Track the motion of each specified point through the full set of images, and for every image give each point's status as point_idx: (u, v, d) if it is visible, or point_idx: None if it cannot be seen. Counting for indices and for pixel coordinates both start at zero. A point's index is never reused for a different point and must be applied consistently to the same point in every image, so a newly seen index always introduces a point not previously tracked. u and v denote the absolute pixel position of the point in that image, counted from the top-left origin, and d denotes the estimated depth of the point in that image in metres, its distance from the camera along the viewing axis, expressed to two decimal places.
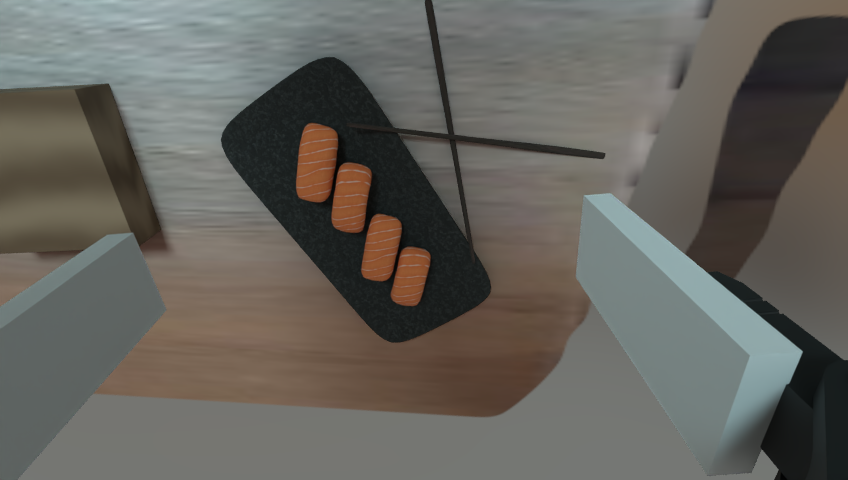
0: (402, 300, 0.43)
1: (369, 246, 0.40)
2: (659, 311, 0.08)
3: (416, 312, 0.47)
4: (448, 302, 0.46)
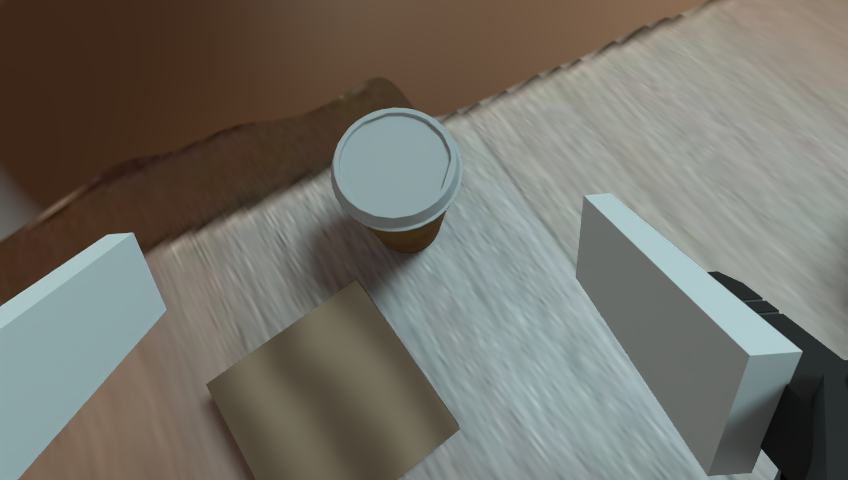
0: None
1: None
2: (659, 311, 0.08)
3: None
4: None
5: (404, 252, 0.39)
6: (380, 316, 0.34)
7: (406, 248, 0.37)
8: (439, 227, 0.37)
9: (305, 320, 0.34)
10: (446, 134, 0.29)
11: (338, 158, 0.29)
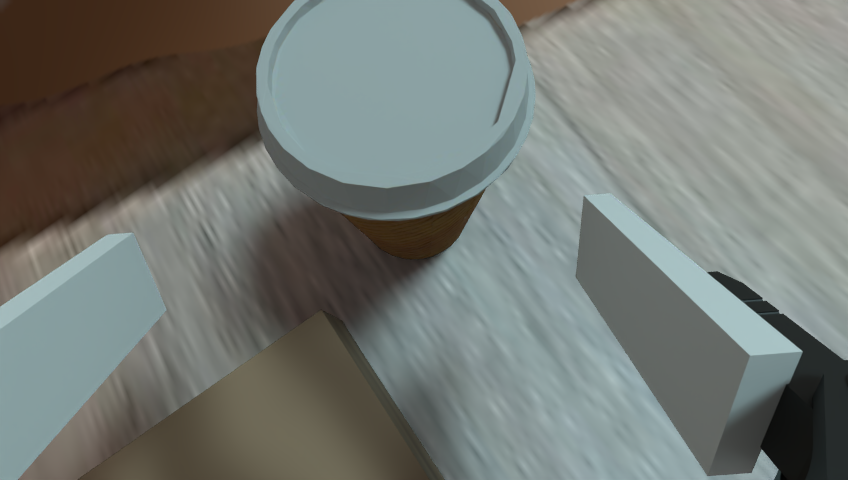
0: None
1: None
2: (659, 311, 0.08)
3: None
4: None
5: (408, 258, 0.24)
6: (364, 381, 0.18)
7: (412, 252, 0.21)
8: None
9: (224, 387, 0.18)
10: (502, 11, 0.14)
11: (268, 60, 0.13)
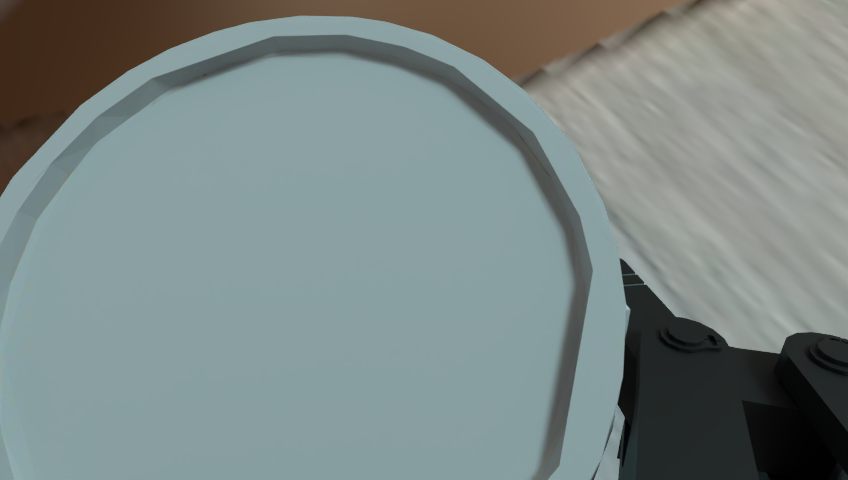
0: None
1: None
2: None
3: None
4: None
5: None
6: None
7: None
8: None
9: None
10: (553, 136, 0.06)
11: None
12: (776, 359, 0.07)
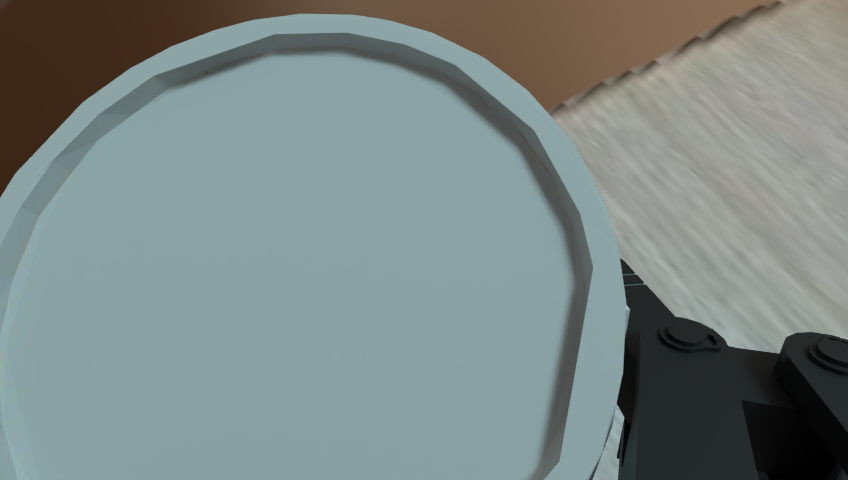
0: None
1: None
2: None
3: None
4: None
5: None
6: None
7: None
8: None
9: None
10: (553, 133, 0.06)
11: None
12: (776, 359, 0.07)
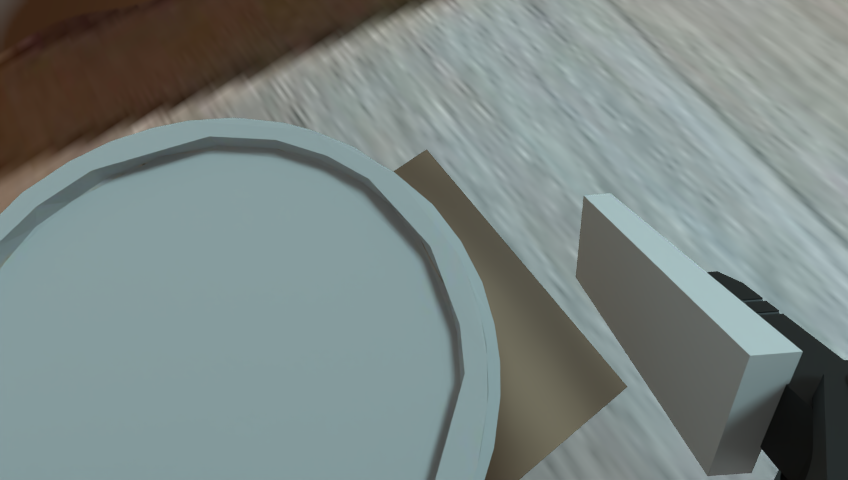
0: None
1: None
2: (659, 311, 0.08)
3: None
4: None
5: None
6: (470, 204, 0.20)
7: None
8: None
9: None
10: (446, 250, 0.07)
11: None
12: None
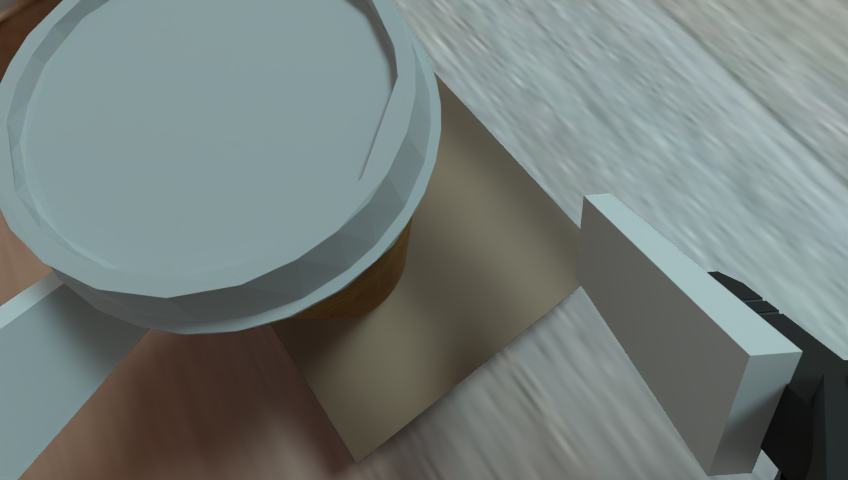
0: None
1: None
2: (659, 311, 0.08)
3: None
4: None
5: (330, 319, 0.19)
6: (468, 111, 0.22)
7: None
8: (398, 270, 0.17)
9: None
10: (383, 0, 0.09)
11: (16, 83, 0.09)
12: None
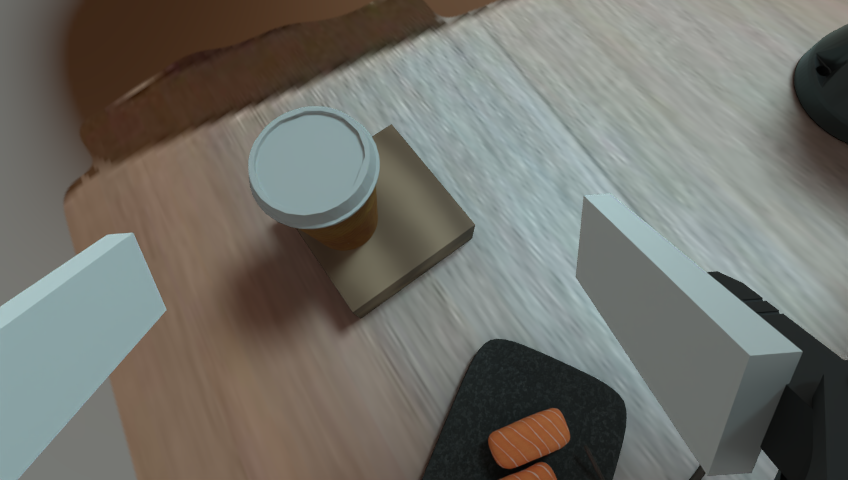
0: None
1: None
2: (659, 311, 0.08)
3: None
4: None
5: (340, 250, 0.40)
6: (411, 149, 0.43)
7: (339, 246, 0.37)
8: (372, 225, 0.37)
9: None
10: (361, 132, 0.30)
11: (253, 156, 0.29)
12: None
